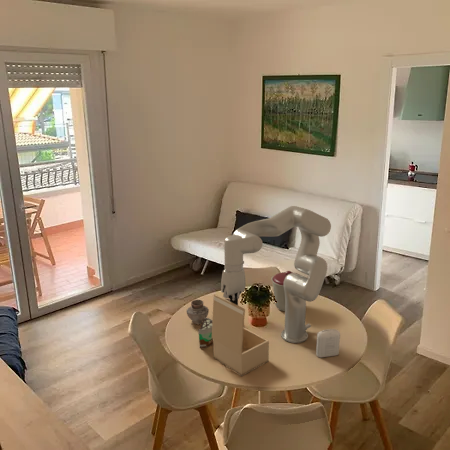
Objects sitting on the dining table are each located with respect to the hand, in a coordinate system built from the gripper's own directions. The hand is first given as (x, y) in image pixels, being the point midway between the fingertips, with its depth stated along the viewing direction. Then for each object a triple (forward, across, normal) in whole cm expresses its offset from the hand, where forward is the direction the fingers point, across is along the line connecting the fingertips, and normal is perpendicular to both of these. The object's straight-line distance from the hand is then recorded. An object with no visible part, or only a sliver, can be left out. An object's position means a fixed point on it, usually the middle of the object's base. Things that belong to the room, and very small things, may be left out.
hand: (233, 307), depth 194 cm
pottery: (+27, -16, -35) cm, 47 cm away
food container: (+27, -2, -20) cm, 34 cm away
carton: (+26, -4, 0) cm, 27 cm away
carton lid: (+6, +3, 0) cm, 7 cm away
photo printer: (+26, -35, +23) cm, 50 cm away
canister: (+26, -56, -19) cm, 65 cm away
